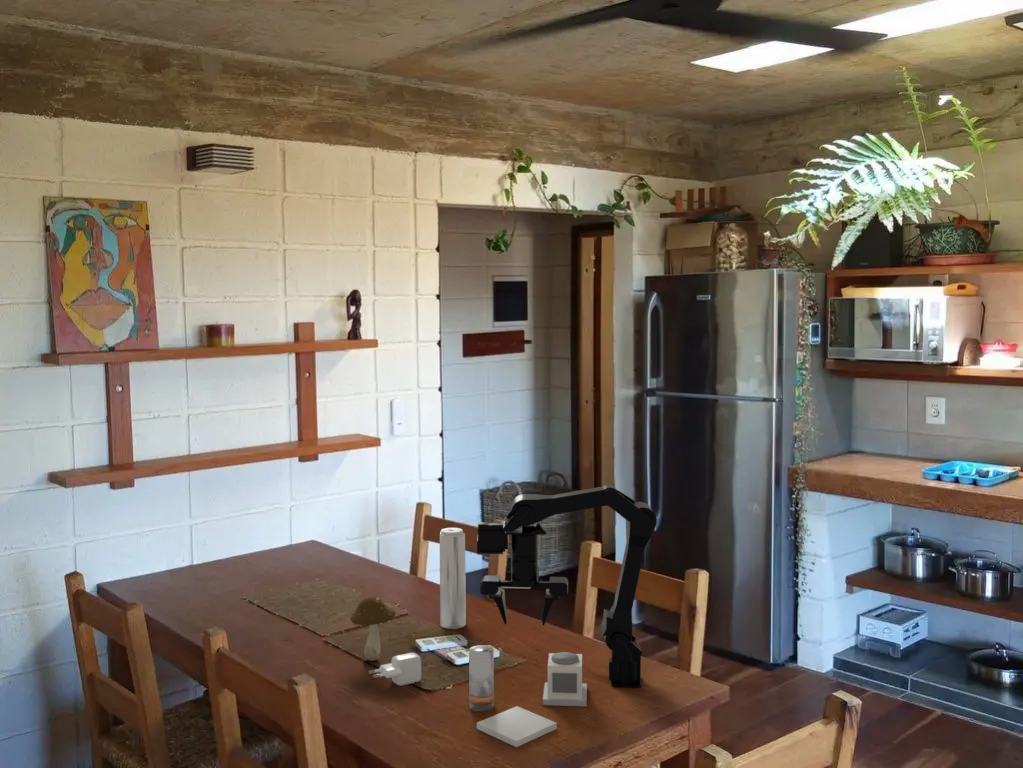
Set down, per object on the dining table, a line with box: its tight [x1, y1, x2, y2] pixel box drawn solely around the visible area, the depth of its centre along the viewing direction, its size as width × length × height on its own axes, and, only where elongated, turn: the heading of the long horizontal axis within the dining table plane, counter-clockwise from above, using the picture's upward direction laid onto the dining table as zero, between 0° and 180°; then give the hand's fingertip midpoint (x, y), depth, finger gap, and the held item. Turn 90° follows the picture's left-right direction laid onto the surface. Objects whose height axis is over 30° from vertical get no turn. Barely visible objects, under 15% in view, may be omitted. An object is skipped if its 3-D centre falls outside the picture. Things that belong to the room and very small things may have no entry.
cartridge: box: [468, 644, 495, 712], centre depth 199 cm, size 5×5×12 cm
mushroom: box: [349, 595, 397, 662], centre depth 225 cm, size 9×11×15 cm
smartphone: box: [434, 645, 467, 660], centre depth 229 cm, size 1×7×15 cm
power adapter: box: [368, 652, 422, 686], centre depth 211 cm, size 11×5×6 cm, turn 120°
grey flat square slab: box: [476, 705, 558, 748], centre depth 189 cm, size 11×11×1 cm
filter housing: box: [542, 651, 588, 707], centre depth 204 cm, size 9×9×9 cm
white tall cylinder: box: [439, 527, 467, 630], centre depth 248 cm, size 6×6×25 cm
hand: (524, 624), depth 211 cm, fingers open, 8 cm apart
